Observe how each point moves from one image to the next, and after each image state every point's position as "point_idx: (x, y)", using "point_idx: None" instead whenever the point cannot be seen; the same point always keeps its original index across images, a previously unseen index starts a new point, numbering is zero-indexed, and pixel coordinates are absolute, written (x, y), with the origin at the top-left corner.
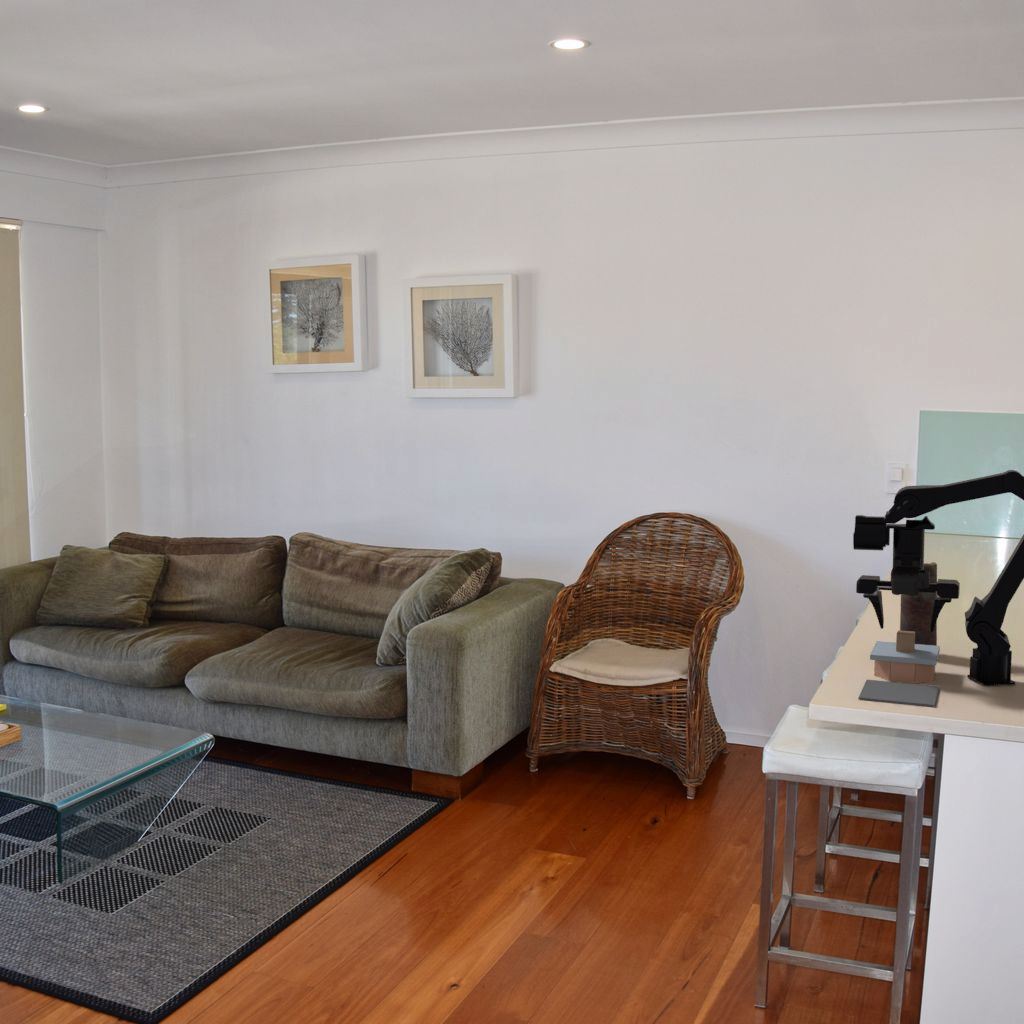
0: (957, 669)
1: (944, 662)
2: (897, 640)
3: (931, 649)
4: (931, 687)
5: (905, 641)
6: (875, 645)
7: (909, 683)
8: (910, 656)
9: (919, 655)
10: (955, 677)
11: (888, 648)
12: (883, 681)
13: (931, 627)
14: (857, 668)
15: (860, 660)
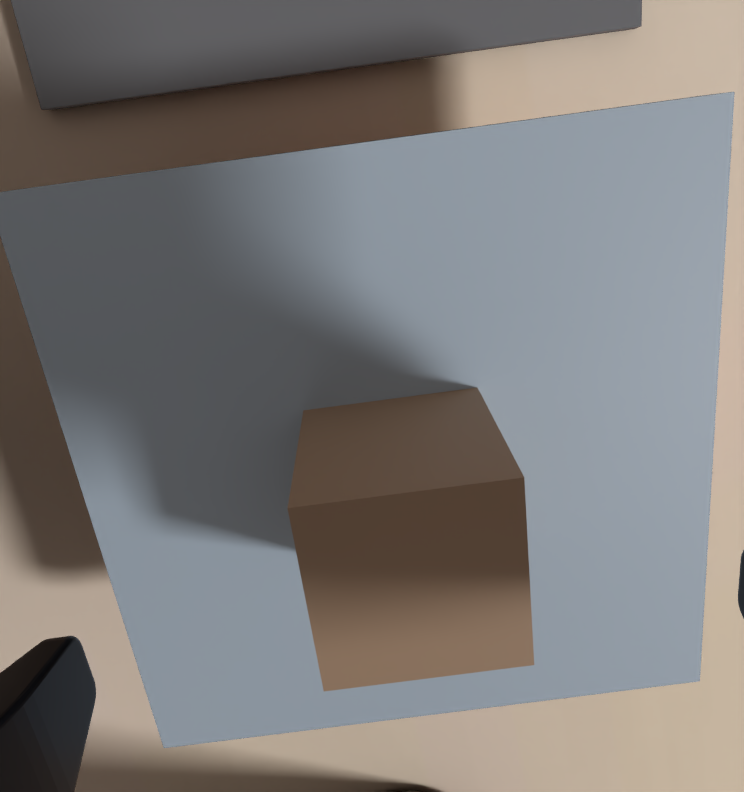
0: (114, 677)
1: (232, 781)
2: (490, 439)
3: (185, 608)
4: (76, 29)
5: (393, 449)
6: (699, 527)
7: (278, 77)
8: (290, 233)
9: (215, 323)
10: (56, 491)
11: (566, 469)
12: (494, 30)
13: (28, 676)
14: (733, 410)
15: (725, 613)
